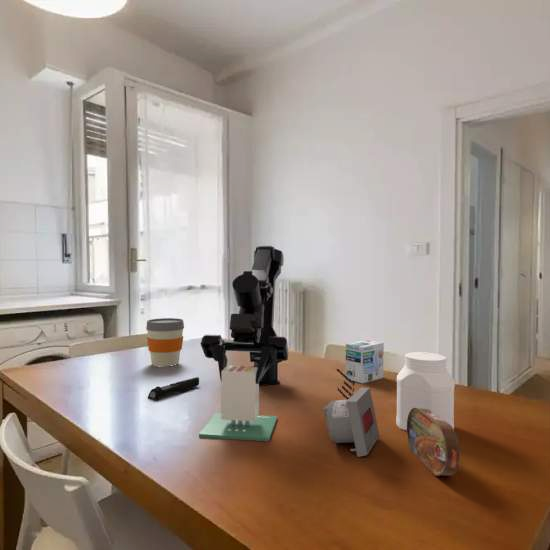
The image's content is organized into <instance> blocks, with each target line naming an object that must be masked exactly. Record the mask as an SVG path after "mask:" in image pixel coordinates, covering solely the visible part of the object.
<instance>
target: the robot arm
mask: <svg viewBox="0 0 550 550" xmlns="http://www.w3.org/2000/svg"><path fill="white" fill-rule="evenodd" d="M282 267H284V253H283V251H282V250H280V249H277V248H275V246H272V245H258V246H256V247H255V250H254V251H253V264H252V267H251V270H244V271H243V273H242V274H240V275H238V276H236V277H235V278H234V279H233V280H232V289H233V294H234V296H235V300H236V305H237V307H239V311H238V313H230V320H229V330H230V331H231V332H230V337H231V339H233V341H231V340H224V339H223V338H222V336H221V334H205V335H203V337H202V338H201V341H200V346H201V349H202V351H203V354H204V356H205V358H207V359H213V361H215V362H217V364H218V365H217V366H218V371H219V378H220V379H219V380H220V381H221V371H222V370H223V369H224V368H225V367H226V366H228V361H229V360H228V358H227V354H226V353H227V351H228V352H229V351H230V352H232V351H233V352H241V353H243V352H247V353H249V361H250V362H251V363H253V365H252V367H258V369H257V373H256V384H258V383H259V387H260V386H267V385H277V384H281V381H280V380H279V379H278V376H279V375H278V374H279V373H278V370H279V369H278V367H279V366H278V364H279V363H281V362H284V361H285V362H286V361H287V360H289V344H288V339H287V338H286V336H278V334H277V333H276V331H275V329H274V321H275V320H274V316H275V299H276V281H277V279H278V278H279V276H280V275H281V273H282Z"/></svg>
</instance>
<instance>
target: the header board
mask: <svg viewBox="0 0 550 550" xmlns="http://www.w3.org/2000/svg"><path fill="white" fill-rule="evenodd" d="M277 420H278V415H267V414H265V415H263V414H261V415H260V414H258V416H257V418H256V420H255V421H242V420H224V419H221V412H215V413H214V414H213V415H212V417H211V418H210V419H209V421H208V422H207V423H206V424H205V426H204V427H203V428H202V429H201V431H200V432H199V434H198V437H199V438H206V439H207V438H208V439H225V440H226V439H228V440H238V439H239V440H241V441H242V440H243V441H254V440H255V442H256V441H257V442H270V439H271V437H272V434H273V431H274V429H275V425H276V423H277Z"/></svg>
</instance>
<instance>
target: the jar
mask: <svg viewBox="0 0 550 550" xmlns="http://www.w3.org/2000/svg"><path fill="white" fill-rule="evenodd" d="M455 385H456V384H455V380H454V378H453V377H452V375H451V374H450V372H449V371H448V368H447V357H446V356H444V355H443V354H441V353H440V354H438V353H435V352H424V351H416V352H415V351H412V352H408V353H405V355H404V366H403V367H402V369H400V372H398V374H397V376H396V417H395V418H396V419H395V423H396V426H397V427H398V428H399V429H401V430H404V431H407V419H408V415H409V412H410V410H411V409H413V408H421V409H429V410H430V411H432V412H433V413H435V414H436V415H437V416H439V417H440V418H441V419H443V420H444V421H446V422H447V423H448V424H450V425H451V426H452V428H453V429H454V430H455V422H454V420H455V419H454V413H455V408H454V407H455Z"/></svg>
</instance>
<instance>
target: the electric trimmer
mask: <svg viewBox="0 0 550 550" xmlns="http://www.w3.org/2000/svg"><path fill="white" fill-rule="evenodd" d="M199 385H200V378H199V377H197V376H196V377H193V378H188V379H184V380H181V381H176V382H174V383H170V384H167V385H163V386H156V387H155V388H152V389H151V390H150V391H149V393H148V395H147V399H149V400H151V401H160V399H161V398H162V399H163V398H165V397H168V396H171V395H174V394H178V393H185V392H187V391H189V390H191V389H194V388H196V387H198V386H199Z"/></svg>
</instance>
